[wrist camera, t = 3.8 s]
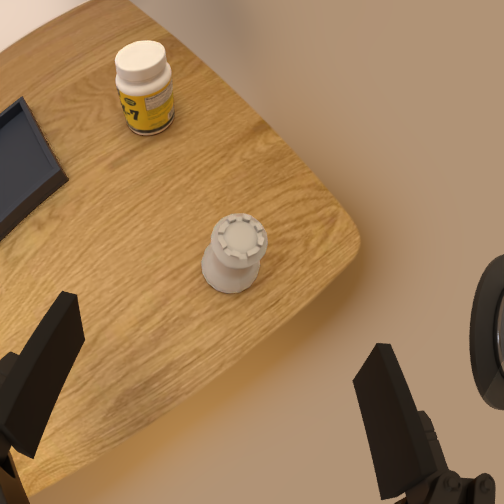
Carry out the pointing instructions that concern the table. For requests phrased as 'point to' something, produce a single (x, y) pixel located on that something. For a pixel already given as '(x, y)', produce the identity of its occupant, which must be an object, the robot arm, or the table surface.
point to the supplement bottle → (145, 87)
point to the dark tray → (24, 166)
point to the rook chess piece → (234, 253)
